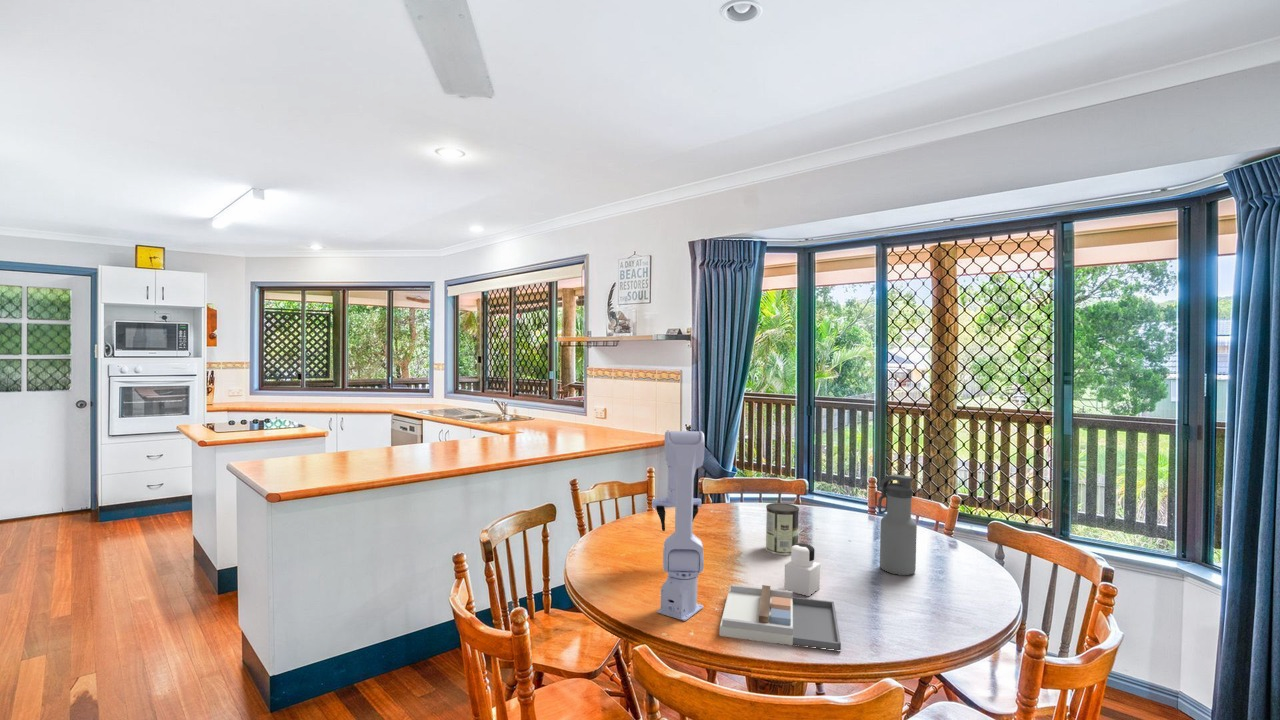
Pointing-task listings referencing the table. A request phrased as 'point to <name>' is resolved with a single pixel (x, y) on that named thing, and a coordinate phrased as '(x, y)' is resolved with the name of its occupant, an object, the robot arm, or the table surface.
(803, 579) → the medicine bottle
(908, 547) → the water bottle
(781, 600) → the tile
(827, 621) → the box
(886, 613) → the table surface
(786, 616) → the tile
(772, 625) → the white rimmed panel
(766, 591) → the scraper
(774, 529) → the coffee can
